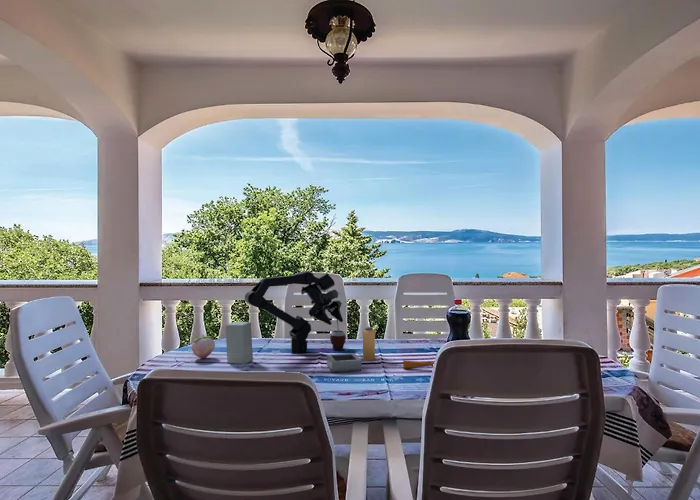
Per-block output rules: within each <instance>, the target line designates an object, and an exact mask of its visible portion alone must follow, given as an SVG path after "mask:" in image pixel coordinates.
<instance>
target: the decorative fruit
mask: <svg viewBox="0 0 700 500" xmlns="http://www.w3.org/2000/svg"><path fill="white" fill-rule="evenodd" d="M215 348H216V343H215V341H214V336H210V335H205V336H204V334H202V337H197V338H195V339H194V340H193V341H192V343H191V351H192V353H193V355H194V356H195V357H197V358H199V359H202V358H204V359H206V358H207V357H208V356H210V355H211V354H212V353H213V351H214V350H215Z"/></svg>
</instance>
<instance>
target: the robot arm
mask: <svg viewBox="0 0 700 500" xmlns="http://www.w3.org/2000/svg"><path fill="white" fill-rule="evenodd" d="M286 285H304V286H301V291H300V293H301V294H300V295H302V296H303V295H305V294H306V295H307V296H308V298H310V300H311V301H310V303H311V305H313V306H311V307H310V309H309V310H308V314H309V316H310V317H311V318H312V317H313V318H314V319H316V320H319V321H321V322H324V323H325V324H326V325H329V326H331V325H332V324H333V323H332V321H331V320H330V318H329V315H331V316H333V318H335V319H336V320H338V322H340V323H343V322H344V319H343V316H342V314H341V307H342V304H343V303H342V302H341V301H340V300H337V299H338V297H339V292H338V290H336V289H333V290H330V291H328V290H329V289H331V288H333V287H334V286H335V285H336V284H335V280H334V279H333V277H331V276H330V274H329V273H327V272H326V273H324V274H322V276H320V277H316V276H315V275H314V273H312V271H304V270H303V271H300V272H297V273H294V274H290V275H282V276H273V277H262V278H261V279H260V280H259V282H258V283H257V284H256V285H255V286H253V287H252V289H251V290H250V291H247V292H246V293H245V295H244V301H245V303H246V304H249V305H251V306H252V307H256V308H258V309H261V310H264V311H266V312H267V313H269V314H270V315H272V316H274V317H275V318H277V319H279V320H280V321H282V322H284V323H286V324H287V325H289V326H290V328H292V329H290V330H289V336H290V353H291V354H306V353H307V351H308V341H307V339H308V336H309V334H310V333H311V331H312V326H311V323H310V322H309V320H307V319H305V318H303V317H302V316H300V315H296V317H294V316H293V315H291V314H289V313H287V312H285V311H284V310H282V309H281V308H279V307H277V306H276V305H274V304H273V303H270V302H269V301H268V299H266V298H265V297H264V296H265V295H266V293H267V291H268V289H269V288H270V287H279V286H286ZM305 285H306V286H305ZM326 291H328V292H326ZM334 299H336V300H334ZM332 300H333V301H332ZM326 311H327V312H328V313H329V315H328V314H327V313H326Z"/></svg>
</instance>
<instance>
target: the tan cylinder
mask: <svg viewBox="0 0 700 500" xmlns="http://www.w3.org/2000/svg"><path fill="white" fill-rule="evenodd" d="M362 360H364V361H366V362H367V361H375V360H376V329H375V328H374V329H373V327H372V326H365V328H363V329H362Z"/></svg>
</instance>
